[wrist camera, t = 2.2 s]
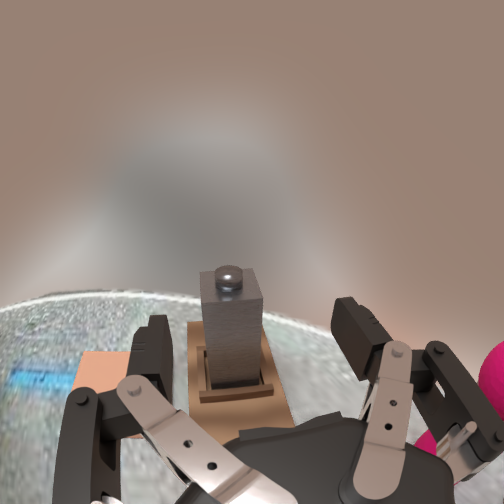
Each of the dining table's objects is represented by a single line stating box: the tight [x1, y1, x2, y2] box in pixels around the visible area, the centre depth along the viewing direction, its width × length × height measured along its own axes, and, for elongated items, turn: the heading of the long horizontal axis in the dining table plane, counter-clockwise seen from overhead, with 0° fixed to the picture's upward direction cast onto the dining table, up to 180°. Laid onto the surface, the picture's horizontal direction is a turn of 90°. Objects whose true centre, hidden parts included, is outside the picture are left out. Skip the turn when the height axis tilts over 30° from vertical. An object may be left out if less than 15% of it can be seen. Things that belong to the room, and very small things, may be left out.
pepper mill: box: [414, 341, 504, 485], centre depth 15 cm, size 7×7×20 cm
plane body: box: [187, 321, 295, 445], centre depth 31 cm, size 20×10×6 cm, turn 10°
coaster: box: [71, 351, 172, 438], centre depth 30 cm, size 13×13×1 cm
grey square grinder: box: [200, 266, 263, 390], centre depth 28 cm, size 5×5×13 cm
